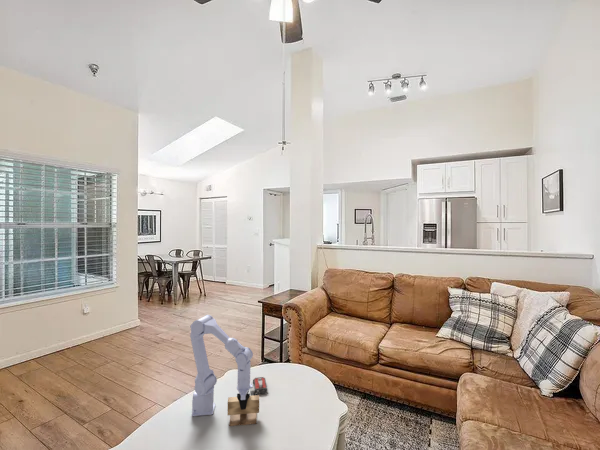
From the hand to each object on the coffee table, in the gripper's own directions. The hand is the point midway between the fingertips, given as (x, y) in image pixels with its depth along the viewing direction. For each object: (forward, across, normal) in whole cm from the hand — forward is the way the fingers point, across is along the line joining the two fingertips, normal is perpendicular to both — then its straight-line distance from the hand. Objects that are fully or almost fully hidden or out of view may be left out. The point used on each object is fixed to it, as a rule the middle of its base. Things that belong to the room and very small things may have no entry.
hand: (243, 406), depth 132 cm
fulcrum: (+6, 0, 0) cm, 6 cm away
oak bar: (+2, 0, 0) cm, 3 cm away
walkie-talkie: (+6, +21, -7) cm, 23 cm away
